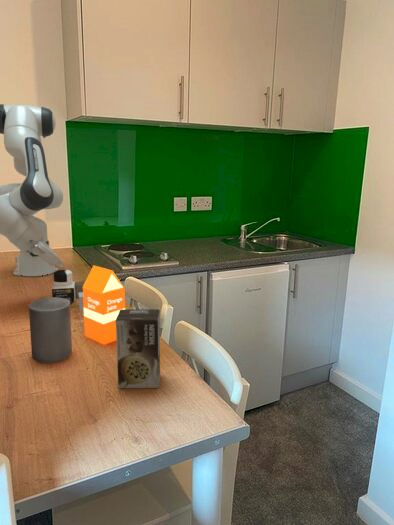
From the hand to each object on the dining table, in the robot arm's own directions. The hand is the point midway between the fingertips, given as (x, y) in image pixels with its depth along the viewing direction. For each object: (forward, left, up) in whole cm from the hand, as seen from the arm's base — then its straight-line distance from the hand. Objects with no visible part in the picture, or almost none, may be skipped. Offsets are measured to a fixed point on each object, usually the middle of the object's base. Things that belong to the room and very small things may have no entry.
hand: (62, 265), depth 132 cm
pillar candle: (+37, -10, -14) cm, 41 cm away
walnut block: (-7, +7, -14) cm, 17 cm away
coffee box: (+59, +5, -14) cm, 61 cm away
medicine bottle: (0, 0, -14) cm, 14 cm away
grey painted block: (+7, +6, -14) cm, 17 cm away
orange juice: (+32, +5, -14) cm, 35 cm away
